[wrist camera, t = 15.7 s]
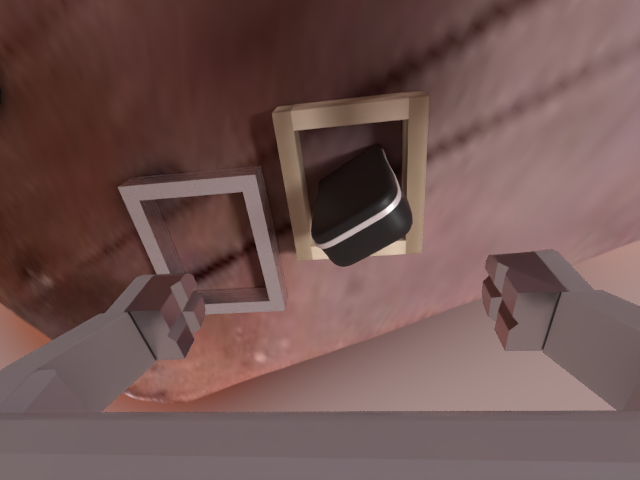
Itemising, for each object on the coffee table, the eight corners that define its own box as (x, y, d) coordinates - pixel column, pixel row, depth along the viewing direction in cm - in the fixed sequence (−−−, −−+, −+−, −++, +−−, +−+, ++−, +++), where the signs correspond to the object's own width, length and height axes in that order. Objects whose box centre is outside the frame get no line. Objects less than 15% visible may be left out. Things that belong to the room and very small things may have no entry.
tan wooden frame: (421, 90, 28) (429, 95, 25) (415, 236, 35) (421, 252, 32) (277, 106, 29) (271, 113, 26) (300, 244, 36) (297, 260, 33)
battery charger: (338, 211, 34) (336, 283, 24) (316, 181, 32) (304, 245, 22) (400, 173, 31) (427, 236, 22) (379, 139, 30) (397, 190, 20)
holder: (261, 165, 32) (255, 174, 30) (288, 295, 40) (285, 310, 38) (132, 177, 33) (117, 186, 31) (184, 301, 41) (175, 315, 39)
